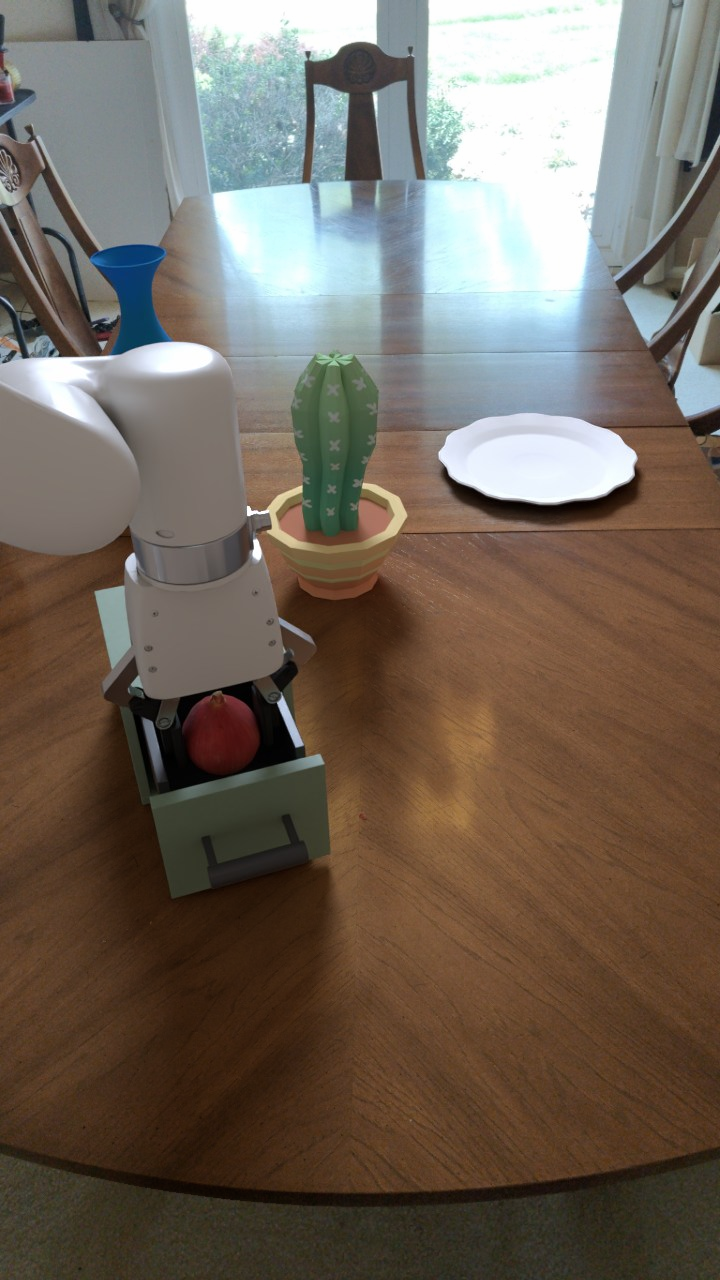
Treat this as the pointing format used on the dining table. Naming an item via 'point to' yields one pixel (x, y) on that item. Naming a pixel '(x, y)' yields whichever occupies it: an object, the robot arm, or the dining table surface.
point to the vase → (133, 293)
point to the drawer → (238, 807)
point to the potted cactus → (335, 484)
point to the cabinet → (136, 682)
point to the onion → (221, 734)
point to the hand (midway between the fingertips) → (222, 742)
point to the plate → (538, 459)
